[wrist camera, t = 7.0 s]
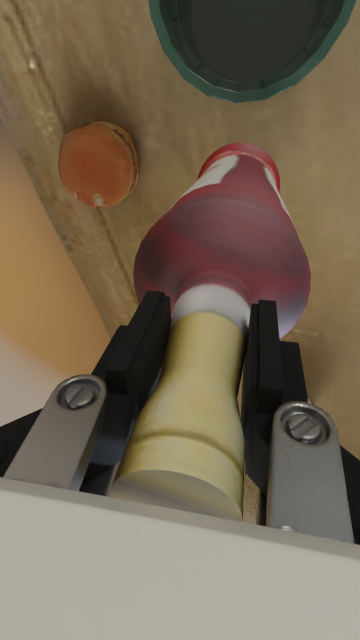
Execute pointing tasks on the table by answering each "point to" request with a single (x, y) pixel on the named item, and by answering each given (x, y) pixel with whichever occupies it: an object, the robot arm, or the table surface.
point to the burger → (98, 164)
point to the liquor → (210, 329)
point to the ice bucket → (247, 42)
